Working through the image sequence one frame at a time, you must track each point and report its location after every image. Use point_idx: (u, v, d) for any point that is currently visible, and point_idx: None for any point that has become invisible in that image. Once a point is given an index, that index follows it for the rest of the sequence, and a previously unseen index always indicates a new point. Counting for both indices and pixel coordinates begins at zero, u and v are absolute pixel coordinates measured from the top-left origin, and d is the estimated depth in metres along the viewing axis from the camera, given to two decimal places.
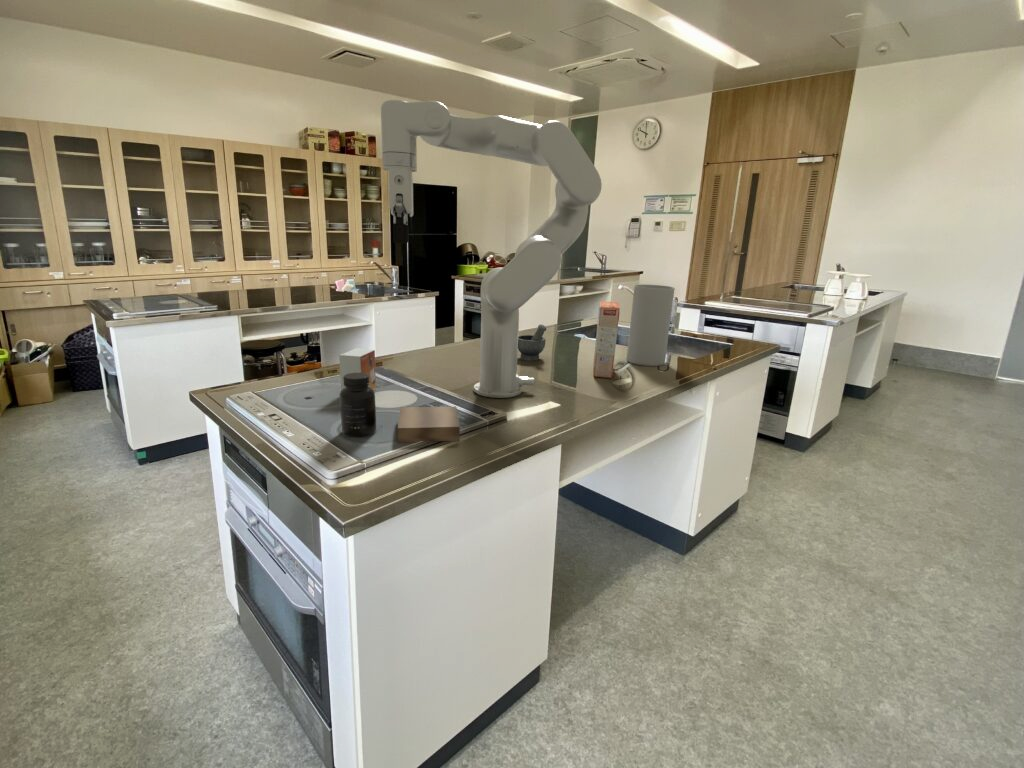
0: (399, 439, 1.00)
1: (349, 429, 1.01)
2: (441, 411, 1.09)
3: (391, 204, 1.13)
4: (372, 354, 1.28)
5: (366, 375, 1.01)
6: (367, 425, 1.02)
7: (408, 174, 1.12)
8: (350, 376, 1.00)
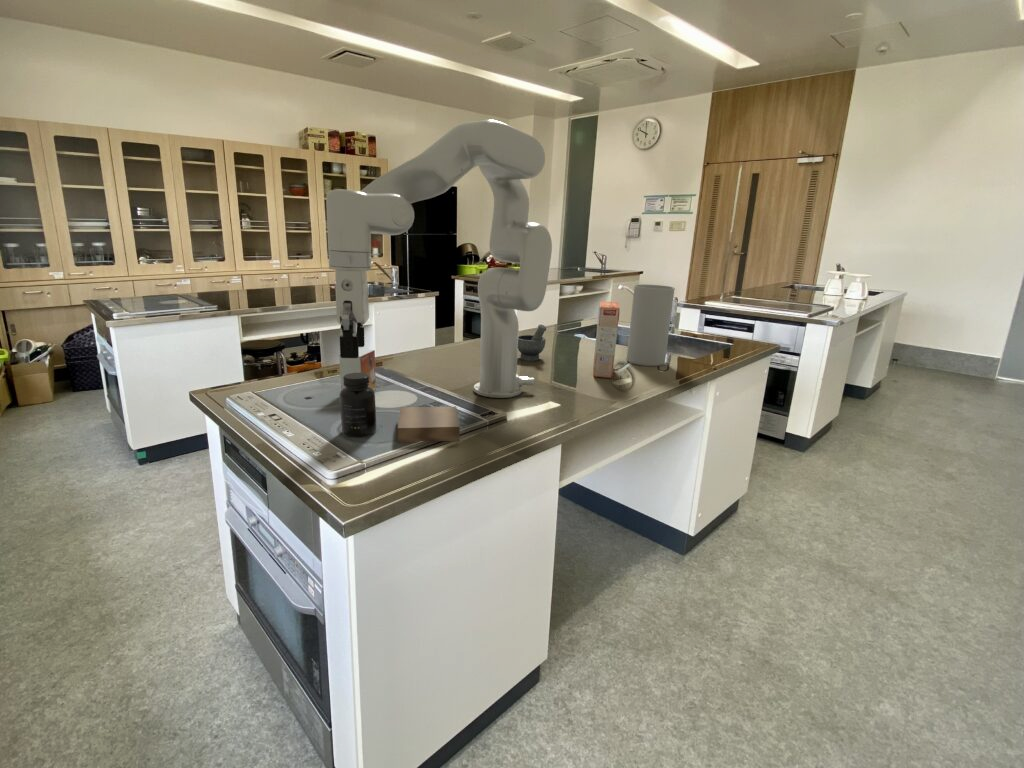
0: (399, 439, 1.00)
1: (349, 429, 1.01)
2: (441, 411, 1.09)
3: (338, 313, 0.92)
4: (372, 354, 1.28)
5: (366, 375, 1.01)
6: (367, 425, 1.02)
7: (359, 277, 0.92)
8: (350, 376, 1.00)
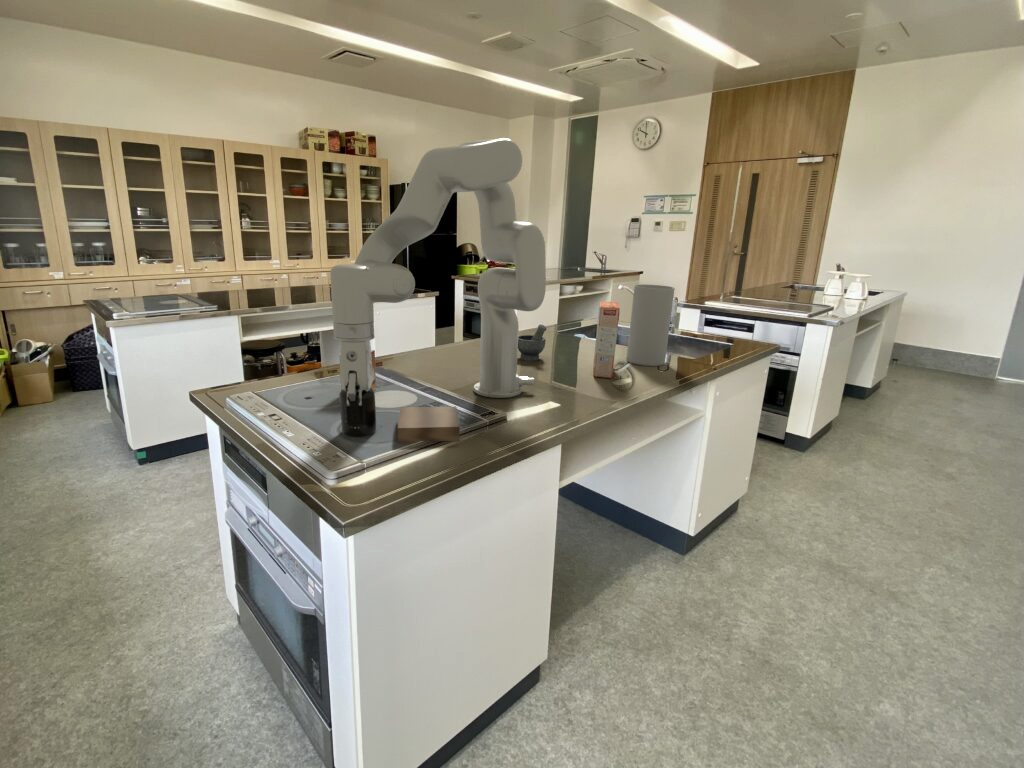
0: (399, 439, 1.00)
1: (349, 428, 1.01)
2: (441, 411, 1.09)
3: (343, 382, 0.96)
4: (372, 354, 1.28)
5: None
6: (367, 425, 1.02)
7: (363, 348, 0.96)
8: None
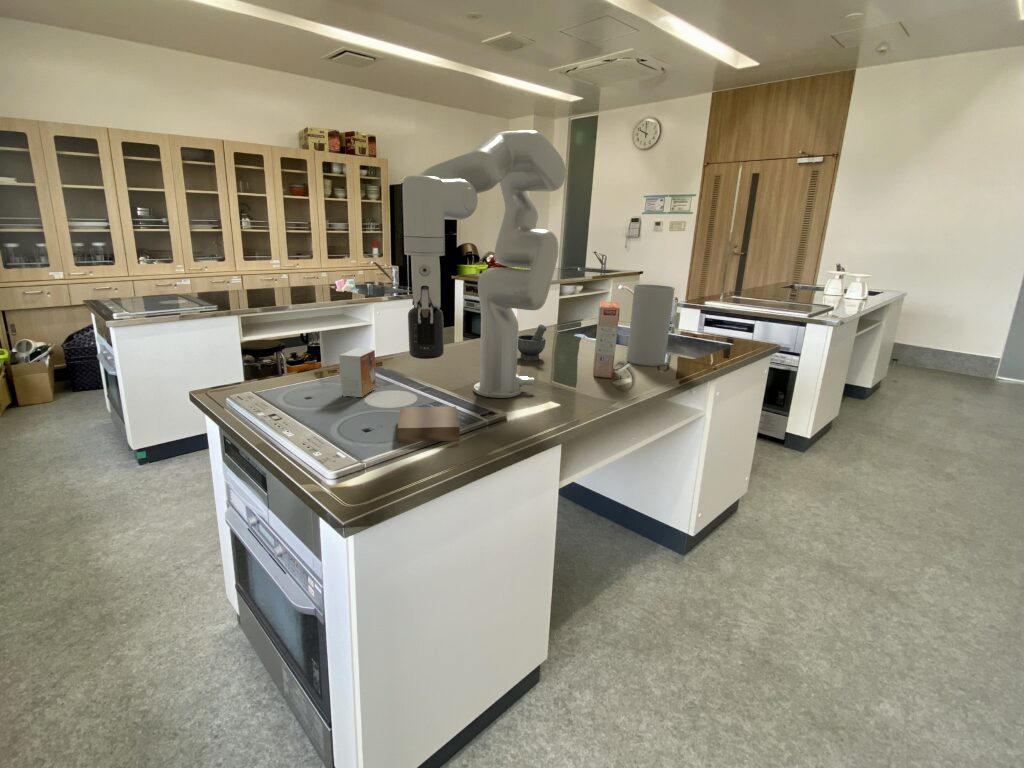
0: (399, 439, 1.00)
1: (418, 349, 0.99)
2: (441, 411, 1.09)
3: (415, 298, 0.94)
4: (372, 354, 1.28)
5: None
6: (436, 346, 1.00)
7: (435, 262, 0.93)
8: None
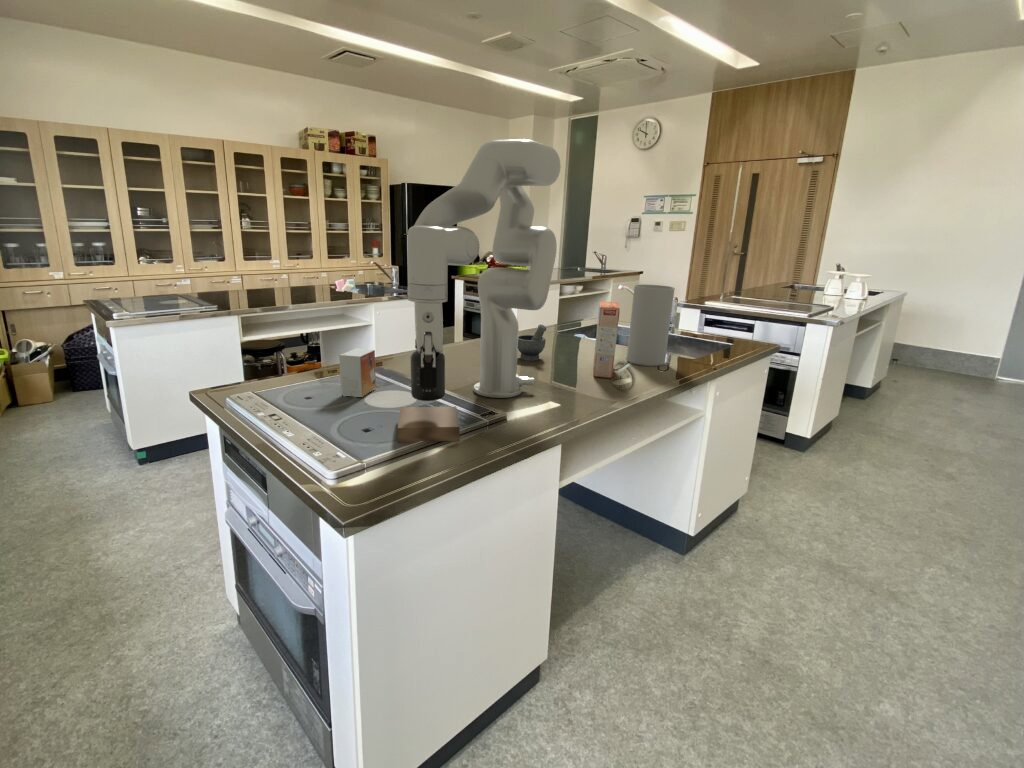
0: (399, 439, 1.00)
1: (420, 392, 1.01)
2: (441, 411, 1.09)
3: (418, 343, 0.96)
4: (372, 354, 1.28)
5: None
6: (438, 389, 1.02)
7: (438, 309, 0.96)
8: None
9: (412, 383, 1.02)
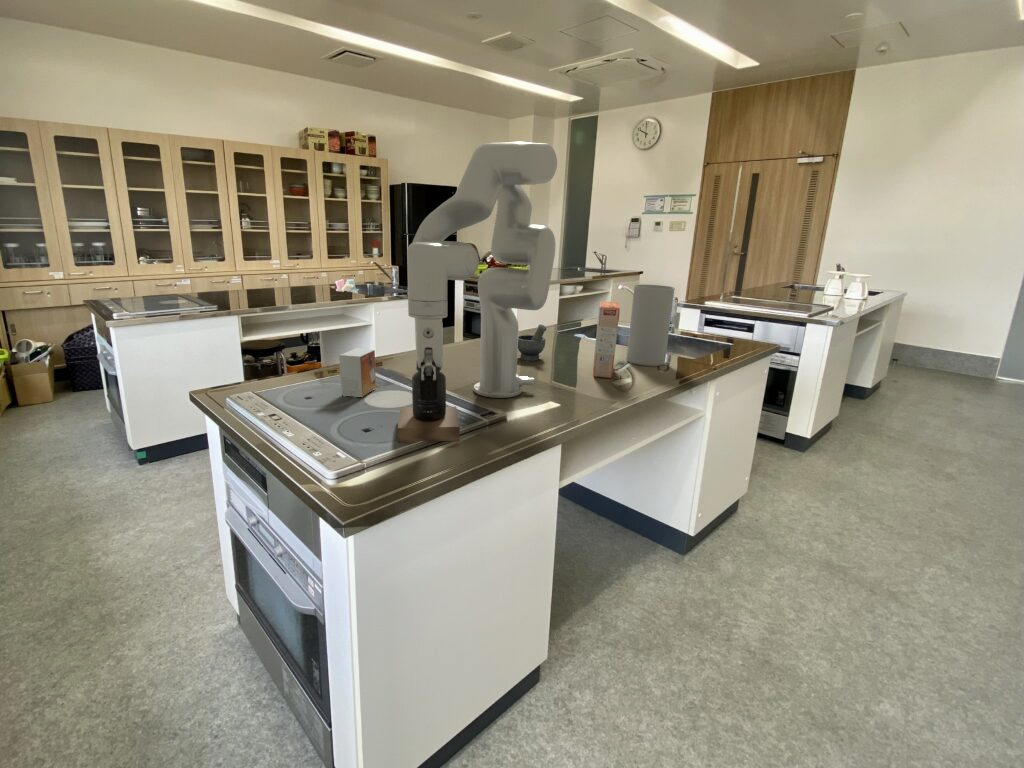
0: (399, 439, 1.00)
1: (422, 413, 1.03)
2: None
3: (419, 359, 0.97)
4: (372, 354, 1.28)
5: None
6: (439, 409, 1.03)
7: (439, 325, 0.97)
8: None
9: (413, 404, 1.04)
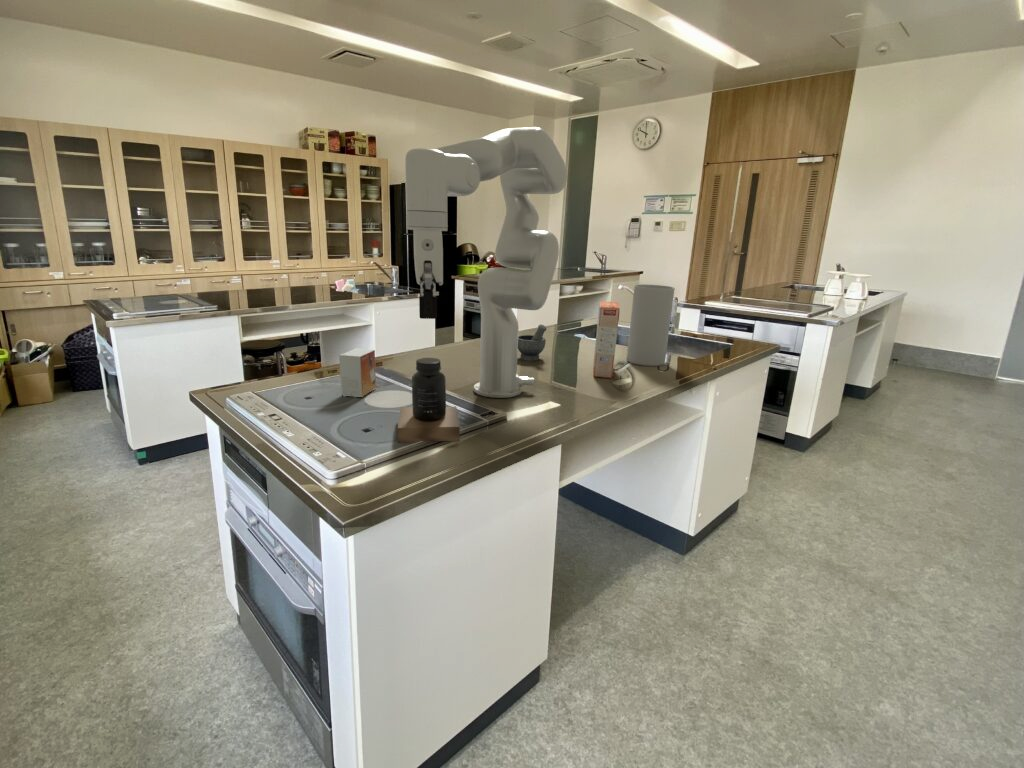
0: (399, 439, 1.00)
1: (422, 413, 1.03)
2: None
3: (418, 273, 0.93)
4: (372, 354, 1.28)
5: (438, 360, 1.03)
6: (439, 409, 1.03)
7: (438, 237, 0.92)
8: (423, 361, 1.02)
9: (413, 404, 1.04)
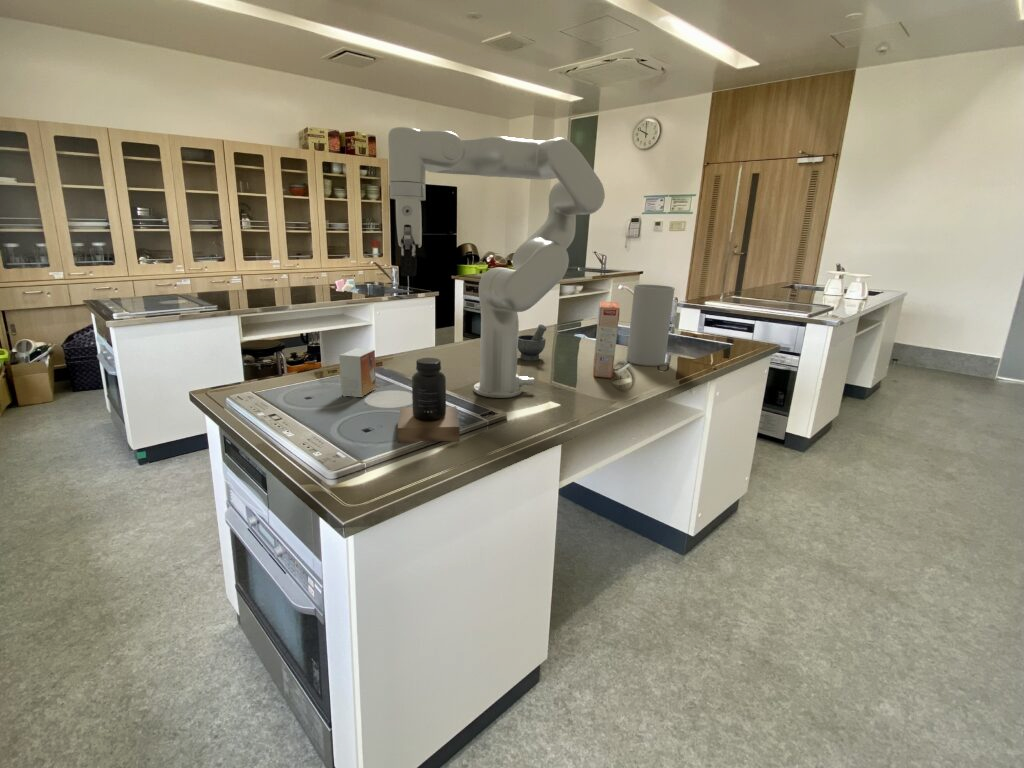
0: (399, 439, 1.00)
1: (422, 413, 1.03)
2: None
3: (399, 236, 1.07)
4: (372, 354, 1.28)
5: (438, 360, 1.03)
6: (439, 409, 1.03)
7: (417, 204, 1.07)
8: (423, 361, 1.02)
9: (413, 404, 1.04)
